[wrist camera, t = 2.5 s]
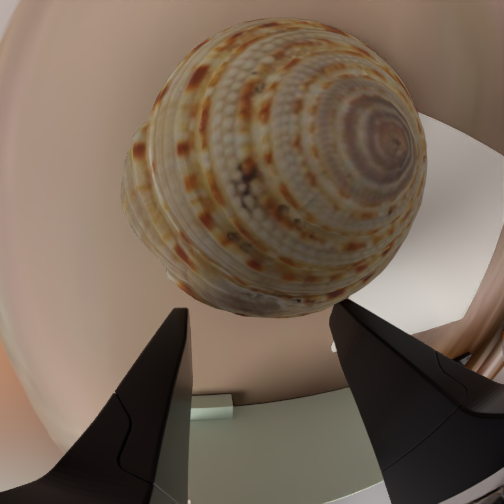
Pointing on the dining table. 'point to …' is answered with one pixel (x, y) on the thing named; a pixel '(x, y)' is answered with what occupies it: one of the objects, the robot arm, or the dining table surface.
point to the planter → (503, 343)
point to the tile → (443, 236)
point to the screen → (279, 450)
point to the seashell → (277, 169)
